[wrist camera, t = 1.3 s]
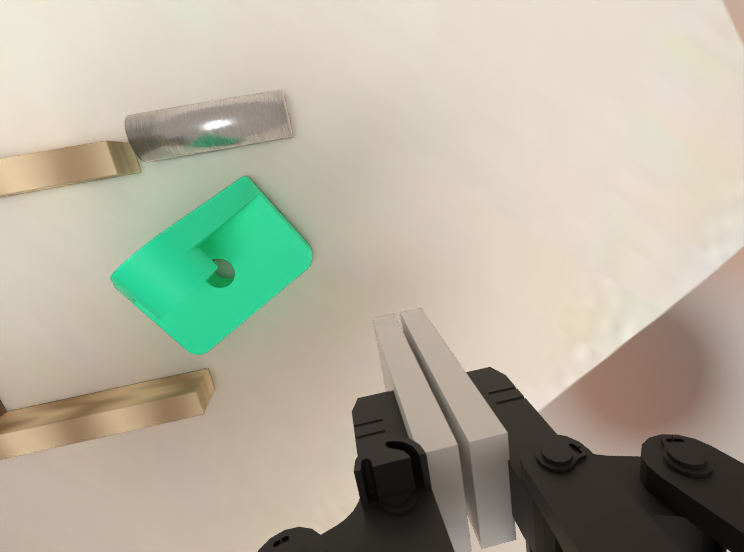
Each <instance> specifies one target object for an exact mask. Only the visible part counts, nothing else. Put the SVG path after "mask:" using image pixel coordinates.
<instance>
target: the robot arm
mask: <svg viewBox="0 0 744 552" xmlns="http://www.w3.org/2000/svg"><path fill="white" fill-rule="evenodd" d="M400 316H401V322H402V328H403V331H402V329H401V327H400V325H399V323H398V321H397V319H396V317H395V315H394V314H390V315H385V316H380V317H376V318H372V319H373V324H374V329H375V335H376V340H377V346H378V351H379V356H380V362H381V367H382V372H383V378H384V383H385V388H386V391H387V392H383V393H379V394H375V395H370V396H366V397H361V398H358V399H357V401H356V404H355V406H354V408H353V410H352V416H353V424H354V432H355V438H356V447H357V454H358V457H357V458H356V460H355V467H354V474H355V478H356V483H357V487H358V491H359V496H360V499H359V502H358V504H357V506H356V507H355V509H354V511H353V512H352V513H351V514H350V515H349V516H348V517H347V518H346V519H345V520H344V521H342V522H341V523H340V524H338V525H337V526H335V527H333V528H332V529H330V530H328V531H327V532H325V533H323V534H322V535H320V534H318V533H317V532H316V531H314V530H313V529H310V528H303V527H296V528H292V529H287V530H284V531H282V532H281V533H279V534H277V535H275V536H274V537H272V538H270V539H269V540H268V541H267V542H266V543H265V544H264V545H263V546H262V547H261V548H260V549H259V551H258V552H471V551H472V550H471V542H470V534H469V527H468V519H467V515H468V517H469V520H470V522H471V525H472V527H473V529H474V532H475V534H476V537H477V539H478V541H479V544H480V546H481V548H486V547H490V546H493V545H498V544H502V543H505V542H509V541H513V540H516V530H515V521H516V523H517V525H518V527H519V529H520V531H521V533H522V534H523V536H524V538H525V540H526V550H527V552H726V550H727V549H728V550H729V551H730V552H744V464H743V463H741V462H739V461H737V460H736V459H734V458H732V457H730V456H729V455H727V454H725V453H723V452H721V451H719V450H718V449H716V448H714V447H712V446H710V445H708V444H705V443H703V442H701V441H699V440H696V439H693V438H689V437H685V436H680V435H665V434H663V435H658V436H654V437H650V438H648V439H647V440H646V441H645V442H644V443H643V444H642V450H641V457H638V456H635V457H634V456H604V455H596V454H593V453H592V452H591V451H590V450H589V449H588V448H586V447H585V446H584V445H583V444H581V443H580V442H579V441H576V440H574V439H572V438H569V437H567V436H562V435H557V434H556V433H555V432H554V430H553V429H552V428H551V427H550V426H549V425H548V424H547V422H546V421H545V420H544V419H543V418H542V417H541V415H540V414H539V413H538V412H537V411H536V410H535V409H534V407H533V406H532V405H531V404H530V403H529V402H528V400H527V399H526V398H525V399H524V396H523V395H522V394H521V392H520V391H519V390H518V389H516V387H515V385H514V384H513V383H512V382H511V381H510V380H509V379H508V377H507V376H506V375H504V374H503V373H501V372H499V371H497V370H495V369H493V368H491V367H488V368H483V369H479V370H474V371H470V372H465V370H464V369H463V368H462V366H461V365H460V363H459V362H458V360H457V359H456V357H455V356H454V355H453V353H452V352H451V350H450V349H449V347H448V346H447V344H446V343H445V342H444V340H443V339H442V337H441V336H440V334H439V333H438V331H437V330H436V329H435V327H434V326H433V324H432V323H431V321H430V320H429V318H428V317H427V316H426V314H425V313H424V311H423V310H422V308H418V309H413V310H409V311H404V312H400Z"/></svg>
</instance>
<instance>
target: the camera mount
mask: <svg viewBox="0 0 744 552" xmlns="http://www.w3.org/2000/svg"><path fill="white" fill-rule="evenodd" d="M213 259H223V260H226V261H227V262H229V263H230V264H231V265H232V266H233V268H234V271H235V277H233V278H223V277H220V276H219V275H217V274H216V273H215V271H216V270H217V269H218V268H219V267H218V266H217V265H216V264H215V263H214V262H213V261H212V260H213ZM311 262H312V249H311V247H310V245H309V244H308V243H307V242H306V241H305V240H304V238H303V237H302V236H301V235H300V234H299V233H298V232H297V231H296V230H295V228H294V227H293V226H292V225H291V224H290V223H289V222H288V221H287V220H286V218H285V217H284V216H283V215H282V214H281V213H280V212H279V211H278V210H277V208H276V207H275V206H274V205H273V204H272V203H271V202H270V201H269V200H268V198H267V197H266V196H265V195H264V194H263V193H262V192H261V191H260V190H259V188H258V187H257V186H256V185H255V184H254V183H253V182H252V181H251V180H250V178H249V177H248V176H243V177H242V178H240V179H239V180H237V181H236V182H234V183H233V184H231V185H230V186H229V187H227V188H226V189H224V190H223V191H221V192H220V193H218V194H217V195H216V196H214V197H213V198H211V199H210V200H208V201H207V202H205V203H204V204H203V205H201V206H200V207H198V208H197V209H195V210H194V211H192V212H191V213H190V214H188V215H187V216H185V217H184V218H182V219H181V220H179V221H178V222H177V223H175V224H174V225H172V226H171V227H169V228H168V229H166V230H165V231H164V232H162V233H161V234H159V235H158V236H156V237H155V238H154V239H152V240H151V241H150V242H148V243H147V244H146V245H145V246H143V247H142V248H141V249H139V250H138V251H137V252H136V253H135V254H133V255H132V256H131V257H130V258H129V259H128V260H126V261H125V262H124V263H123V264H122V265H121V266H120V267H119V268H118V269H117V270H116V271H115V272H114V273H113V274H112V275H111V277H110V278H111V280H112V282H113V284H114V286H115V288H116V289H117V290H118V291H119V292H121V293H122V294H123V295H124V296H125V297H126V298H127V299H129V300H130V301H131V302H132V303H133V304H134V305H136V306H137V307H138V308H139V309H140V310H141V311H142V312H144V313H145V314H146V315H147V316H148V317H149V318H150V319H152V320H153V321H154V322H155V323H156V324H157V325H158V326H160V327H161V328H162V329H163V330H164V331H165V332H166V333H168V334H169V335H170V336H171V337H172V338H173V339H174V340H176V341H177V342H178V343H179V344H180V345H181V346H182V347H184V348H185V349H186V350H187V351H188V352H190V353H192V354H197V355H200V354H204V353H206V352H208V351H209V350H210V349H212V348H213V347H214V346H215V345H216V344H218V343H219V342H220V341H221V340H222V339H224V338H225V337H226V336H227V335H228V334H230V333H231V332H232V331H233V330H234V329H236V328H237V327H238V326H239V325H240V324H242V323H243V322H244V321H245V320H246V319H248V318H249V317H250V316H251V315H252V314H254V313H255V312H256V311H257V310H258V309H259V308H261V307H262V306H263V305H264V304H265V303H267V302H268V301H269V300H270V299H271V298H273V297H274V296H275V295H276V294H277V293H279V292H280V291H281V290H282V289H283V288H285V287H286V286H287V285H288V284H289V283H291V282H292V281H293V280H294V279H295V278H297V277H298V276H299V275H300V274H301V273H303V272H304V271H305V270H306V269H307V268H308V267H309V266H310V264H311Z"/></svg>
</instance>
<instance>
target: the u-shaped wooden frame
mask: <svg viewBox="0 0 744 552" xmlns="http://www.w3.org/2000/svg"><path fill="white" fill-rule="evenodd" d="M135 173H141V170H140V167H139V164H138V161H137V158H136V155H135V152H134V151H133V149H132V147H131V145H130V143H125V142H114V141H101V142H95V143H89V144H84V145H78V146H72V147H66V148H60V149H54V150H48V151H42V152H37V153H31V154H25V155H19V156H13V157H7V158H1V159H0V197H5V196H11V195H17V194H22V193H28V192H34V191H39V190H45V189H51V188H56V187H62V186H68V185H73V184H79V183H85V182H90V181H96V180H102V179H107V178H113V177H118V176H124V175H130V174H135ZM214 390H215V388H214V385H213V382H212V379H211V376H210V373H209V370H208V369H203V370H198V371H194V372H189V373H185V374H180V375H175V376H171V377H166V378H161V379H157V380H152V381H147V382H143V383H138V384H134V385H129V386H124V387H120V388H115V389H110V390H106V391H101V392H96V393H92V394H87V395H83V396H78V397H73V398H69V399H64V400H59V401H55V402H50V403H45V404H41V405H36V406H32V407H27V408H22V409H18V410H13V411H8V412H6V410H5V408H4V406H3V404H2V403H1V401H0V460H2V459H7V458H11V457H16V456H20V455H25V454H29V453H34V452H38V451H42V450H47V449H51V448H56V447H60V446H65V445H69V444H74V443H78V442H83V441H87V440H92V439H96V438H100V437H105V436H109V435H114V434H118V433H123V432H127V431H132V430H136V429H141V428H145V427H150V426H154V425H158V424H163V423H167V422H172V421H176V420H181V419H185V418H190V417H194V416H199V415H203V414H204V412H205V410H206V408H207V405H208V403H209V401H210V399H211V396H212V394H213V392H214Z"/></svg>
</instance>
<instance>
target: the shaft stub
mask: <svg viewBox="0 0 744 552" xmlns="http://www.w3.org/2000/svg"><path fill="white" fill-rule="evenodd" d="M125 130H126V134H127V137H128V140H129V143H130V145H131V147H132V149H133V151H134V152H135V154H136V155H137V156H138V158H139V159H140V160H142V161H143V162H151V161H156V160H162V159H168V158H173V157H179V156H185V155H191V154H196V153H202V152H208V151H213V150H219V149H225V148H231V147H236V146H242V145H248V144H253V143H259V142H265V141H270V140H276V139H282V138H288V137H293V134H292V128H291V123H290V119H289V114H288V110H287V105H286V101H285V97H284V94H283V91H282V90H277V91H271V92H265V93H259V94H253V95H247V96H241V97H235V98H229V99H223V100H217V101H211V102H205V103H199V104H193V105H187V106H181V107H175V108H169V109H162V110H156V111H150V112H144V113H138V114H132V115H128V116H126V118H125Z"/></svg>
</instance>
